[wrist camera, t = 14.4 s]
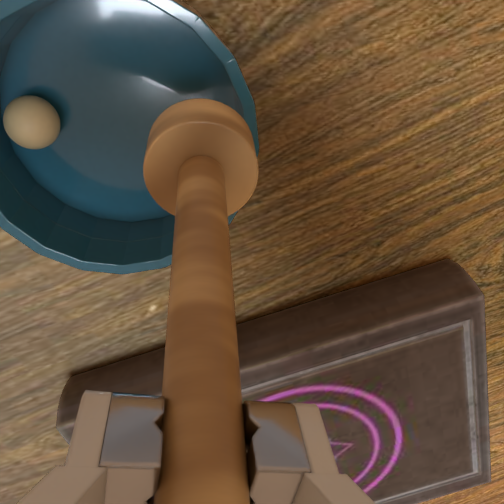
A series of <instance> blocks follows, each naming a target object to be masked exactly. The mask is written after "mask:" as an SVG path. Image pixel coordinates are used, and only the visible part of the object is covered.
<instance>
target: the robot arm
mask: <svg viewBox="0 0 504 504" xmlns="http://www.w3.org/2000/svg"><path fill="white" fill-rule="evenodd" d="M164 401H165V396H156V395H145V394H133V393H121V392H113V394H112V392H103V391H91V390H85V391H84V393H83V395H82V398H81V402H80V406H79V410H78V414H77V418H76V422H75V426H74V430H73V433H72V437H71V441H70V445H69V449H68V453H67V457H66V461H65V465H64V466H55V467H54V468H53V469H52V470H51V471H50V472H49V473H48V474H46V475H45V476H44V477H43V478H42V479H41V480H40V481H39V482H38V483H37V484H36V485H35V486H34V487H33V488H32V489H31V490H30V491H29V492H28V493H27V494H26V495H25V496H23V497H22V498H21V499H20V500H19V501H18V502H17V503H16V504H154V494H156V491H157V487H158V481H159V474H160V468H161V454H162V439H163V433H162V432H161V428H162V422H163V415H164ZM242 406H243V419H244V432H245V445H246V458H247V471H248V483H249V496H250V504H376V503H375V502H374V501H373V500H372V499H371V498H370V497H369V496H368V495H367V494H366V493H365V492H364V491H363V490H362V489H361V488H360V487H359V486H358V485H357V484H356V483H355V482H354V481H353V480H352V479H351V478H350V477H349V476H348V475H347V474H339V471H338V468H337V464H336V461H335V458H334V455H333V452H332V449H331V445H330V442H329V439H328V436H327V433H326V429H325V426H324V423H323V420H322V417H321V414H320V410H319V408H318V407H317V405H316V404H307V403H290V402H269V401H248V400H244V402H243V404H242Z"/></svg>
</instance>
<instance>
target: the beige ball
mask: <svg viewBox="0 0 504 504" xmlns="http://www.w3.org/2000/svg"><path fill="white" fill-rule="evenodd" d="M3 124H4V128H5V131H6V133H7V134H8V136H9V137H10V138H11V139H12V140H13V141H14V142H15V143H16V144H18V145H20V146H22V147H24V148H28V149H42V148H45V147H47V146H49V145H51V144H52V143H53V142H54V141H55V140H56V138H57V137H58V135H59V132H60V118H59V115H58V113H57V111H56V110H55V108H54V107H53V106H52V105H51V104H50V103H49V102H48V101H46V100H44V99H42V98H40V97H37V96H32V95H25V96H20V97H17V98H15V99H14V100H12V101H11V102H10V103H9V104H8V105H7V107H6V109H5V111H4V114H3Z"/></svg>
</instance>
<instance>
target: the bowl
mask: <svg viewBox="0 0 504 504" xmlns="http://www.w3.org/2000/svg"><path fill="white" fill-rule="evenodd" d="M25 95H32V96H37V97H40V98H42V99H44V100H46V101H48V102H49V103H50V104H51V105H52V106H53V107H54V108H55V110H56V111H57V113H58V115H59V118H60V132H59V135H58V137H57V138H56V140H55V141H54V142H53V143H52V144H51V145H49V146H47V147H45V148H42V149H28V148H24V147H22V146H20V145H18V144H16V143H15V142H14V141H13V140H12V139H11V138H10V137H9V136H8V134H7V133H6V131H5V128H4V124H3V114H4V111H5V109H6V107H7V105H8V104H9V103H10V102H11V101H12V100H14V99H15V98H17V97H20V96H25ZM199 98H202V99H210V100H215V101H218V102H221V103H223V104H225V105H227V106H229V107H231V108H232V109H234V110H235V111H236V112H237V113H238V114H239V115H240V116H241V117H242V118H243V119H244V120H245V122H246V123H247V125H248V126H249V129H250V131H251V133H252V137H253V141H254V146H255V151H256V157H258V153H259V139H258V129H257V120H256V110H255V103H254V100H253V98H252V95H251V93H250V91H249V88H248V86H247V84H246V81H245V79H244V77H243V75H242V72H241V70H240V68H239V65H238V63H237V61H236V59H235V57H234V55H233V54H232V52H231V51H230V50H229V48H228V47H227V45H226V44H225V42H224V41H223V40H222V39H221V38H220V37H219V36H218V34H217V33H216V32H215V31H214V30H213V28H212V27H211V26H210V25H209V24H208V23H207V22H206V21H205V19H204V18H203V17H202V16H201V15H200V14H199V12H198V11H196V10H195V9H194V8H193V7H191V6H189V5H188V4H186V3H184V2H183V1H181V0H0V227H1V228H2V229H3V230H5V231H6V232H7V233H9V234H10V235H12V236H13V237H15V238H16V239H18V240H19V241H20V242H22V243H23V244H25V245H26V246H28V247H29V248H31V249H32V250H33V251H35V252H36V253H38V254H40V255H42V256H45V257H48V258H50V259H53V260H56V261H58V262H61V263H64V264H67V265H69V266H72V267H75V268H77V269H81V270H86V271H96V272H105V273H115V274H128V273H135V272H141V271H147V270H154V269H160V268H165V267H167V266H169V265H171V264H172V251H173V237H174V224H175V216H174V215H172V214H170V213H169V212H167V211H166V210H164V209H163V208H162V207H161V206H160V205H158V204H157V202H156V201H155V200H154V199H153V198H152V196H151V195H150V193H149V191H148V189H147V187H146V184H145V181H144V176H143V163H144V157H145V152H146V147H147V142H148V137H149V133H150V130H151V128H152V126H153V124H154V122H155V121H156V119H157V118H158V117H159V116H160V114H161V113H163V112H164V111H165V110H166V109H167V108H169V107H170V106H172V105H174V104H176V103H178V102H181V101H184V100H189V99H199ZM237 212H238V211H236V212H235V213H233V214H231V215H229V216H228V226H229V224H230V223H231V222H232V220H233V218H234V217H235V215H236V213H237Z"/></svg>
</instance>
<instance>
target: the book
mask: <svg viewBox="0 0 504 504" xmlns="http://www.w3.org/2000/svg"><path fill="white" fill-rule="evenodd" d="M236 329H237V342H238V355H239V367H240V380H241V393H242V404H243V402H244V400H248V401H269V402H290V403H307V404H316V405H317V407H318V408H319V410H320V414H321V417H322V420H323V423H324V426H325V429H326V433H327V436H328V439H329V442H330V445H331V449H332V452H333V455H334V458H335V461H336V464H337V468H338V471H339V474H347V475H348V476H349V477H350V478H351V479H352V480H353V481H354V482H355V483H356V484H357V485H358V486H359V487H360V488H361V489H362V490H363V491H364V492H365V493H366V494H367V495H368V496H369V497H370V498H371V499H372V500H373V501H374V502H375V503H376V504H418V503H421V502H424V501H428V500H431V499H434V498H438V497H441V496H445V495H448V494H451V493H455V492H458V491H461V490H465V489H468V488H472V487H475V486H478V485H482V484H485V483H488V482H491V463H490V436H489V409H488V382H487V355H486V328H485V301H484V294H483V293H482V291H481V290H480V289H479V287H478V286H477V284H476V283H475V281H474V280H473V279H472V278H471V277H470V275H469V274H468V273H467V272H466V271H465V270H464V269H463V268H462V267H461V266H460V265H458V264H457V263H455V262H453V261H452V260H450V259H445V260H442V261H439V262H436V263H432V264H429V265H426V266H423V267H420V268H416V269H413V270H410V271H407V272H404V273H401V274H397V275H394V276H391V277H388V278H385V279H381V280H378V281H375V282H372V283H369V284H365V285H362V286H359V287H356V288H353V289H349V290H346V291H343V292H340V293H337V294H333V295H330V296H327V297H324V298H321V299H317V300H314V301H311V302H308V303H305V304H302V305H298V306H295V307H292V308H289V309H286V310H282V311H279V312H276V313H273V314H270V315H266V316H263V317H260V318H257V319H254V320H250V321H247V322H244V323H241V324H238V325H236ZM164 358H165V347H164V348H161V349H158V350H155V351H151V352H148V353H145V354H142V355H139V356H135V357H132V358H129V359H126V360H123V361H120V362H116V363H113V364H110V365H107V366H104V367H100V368H97V369H94V370H91V371H88V372H84V373H81V374H78V375H75V376H72V377H70V379H69V380H68V382H67V383H66V385H65V387H64V389H63V391H62V394H61V397H60V401H59V406H58V412H57V424H56V428H57V430H58V431H59V433H60V434H61V435H62V436H63V438H64V439H65V440H66V442H67V443H68V444H69V445H70V441H71V437H72V433H73V430H74V426H75V422H76V418H77V414H78V410H79V406H80V402H81V398H82V395H83V393H84V391H85V390H91V391H103V392H112V394H113V392H121V393H133V394H145V395H156V396H162V384H163V371H164Z"/></svg>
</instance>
